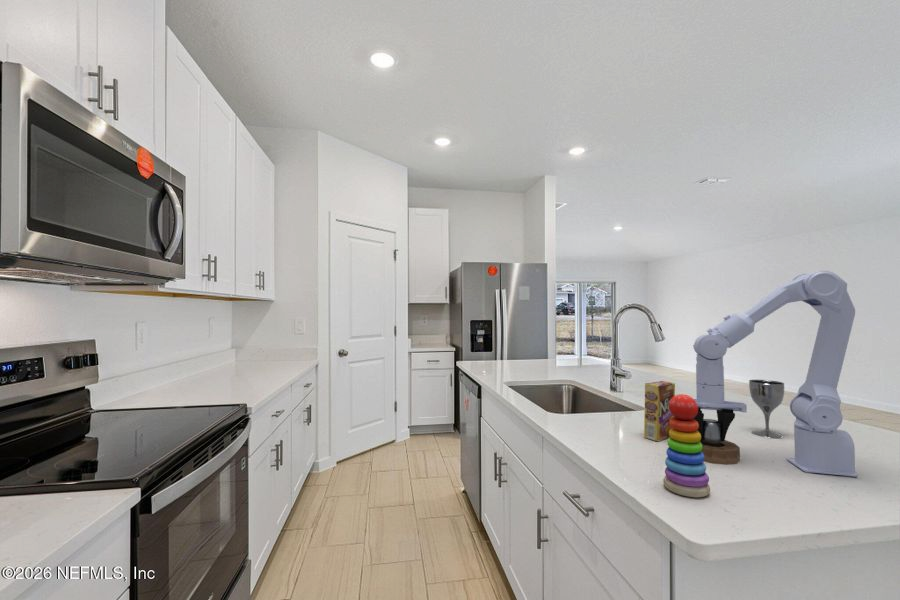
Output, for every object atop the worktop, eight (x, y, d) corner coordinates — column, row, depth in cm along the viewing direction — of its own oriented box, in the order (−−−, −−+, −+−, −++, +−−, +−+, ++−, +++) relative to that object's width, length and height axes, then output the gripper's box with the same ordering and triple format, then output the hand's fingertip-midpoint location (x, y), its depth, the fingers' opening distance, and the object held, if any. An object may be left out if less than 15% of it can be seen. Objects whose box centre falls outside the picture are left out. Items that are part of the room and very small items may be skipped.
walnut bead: (728, 450, 101) (728, 438, 102) (747, 466, 91) (746, 453, 91) (680, 446, 105) (680, 434, 105) (692, 461, 94) (692, 448, 94)
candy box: (659, 442, 108) (658, 385, 108) (643, 438, 111) (643, 383, 112) (676, 436, 113) (675, 382, 113) (661, 432, 116) (660, 380, 117)
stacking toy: (667, 478, 85) (666, 389, 85) (712, 488, 80) (711, 393, 80) (659, 491, 78) (657, 395, 79) (707, 503, 73) (705, 400, 74)
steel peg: (718, 448, 99) (718, 419, 99) (723, 453, 95) (722, 424, 95) (700, 446, 100) (699, 418, 100) (703, 451, 97) (703, 422, 97)
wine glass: (743, 431, 117) (742, 380, 118) (762, 429, 120) (761, 378, 120) (772, 440, 110) (771, 385, 110) (792, 437, 112) (791, 383, 112)
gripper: (737, 382, 100) (739, 437, 100) (673, 379, 104) (673, 432, 104) (749, 387, 93) (751, 446, 93) (680, 384, 98) (680, 440, 97)
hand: (711, 439), depth 98 cm, fingers closed on steel peg, 4 cm apart
